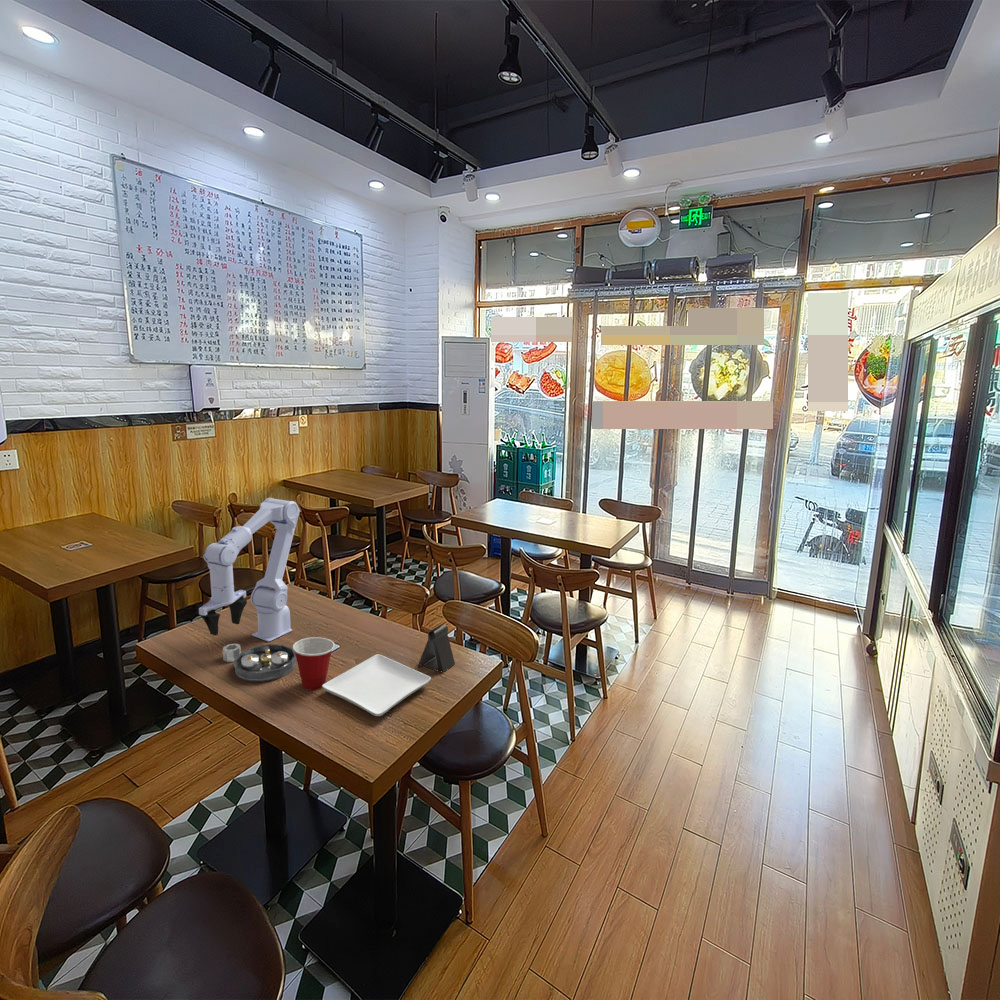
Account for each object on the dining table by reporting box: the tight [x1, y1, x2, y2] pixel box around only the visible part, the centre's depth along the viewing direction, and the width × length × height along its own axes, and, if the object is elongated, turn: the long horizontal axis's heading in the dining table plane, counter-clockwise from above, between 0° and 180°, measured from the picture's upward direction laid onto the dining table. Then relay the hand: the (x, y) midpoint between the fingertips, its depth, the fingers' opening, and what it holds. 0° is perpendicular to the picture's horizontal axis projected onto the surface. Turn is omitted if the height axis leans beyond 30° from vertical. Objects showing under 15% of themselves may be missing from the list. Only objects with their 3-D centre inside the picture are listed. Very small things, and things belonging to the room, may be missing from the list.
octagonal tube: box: [222, 643, 242, 663], centre depth 157 cm, size 4×4×3 cm
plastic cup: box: [292, 636, 336, 691], centre depth 145 cm, size 11×11×12 cm
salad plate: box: [322, 653, 432, 717], centre depth 145 cm, size 21×21×3 cm
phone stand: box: [418, 623, 456, 673], centre depth 159 cm, size 9×6×12 cm, turn 60°
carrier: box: [233, 643, 297, 683], centre depth 153 cm, size 16×16×5 cm
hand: (225, 628), depth 154 cm, fingers open, 7 cm apart
